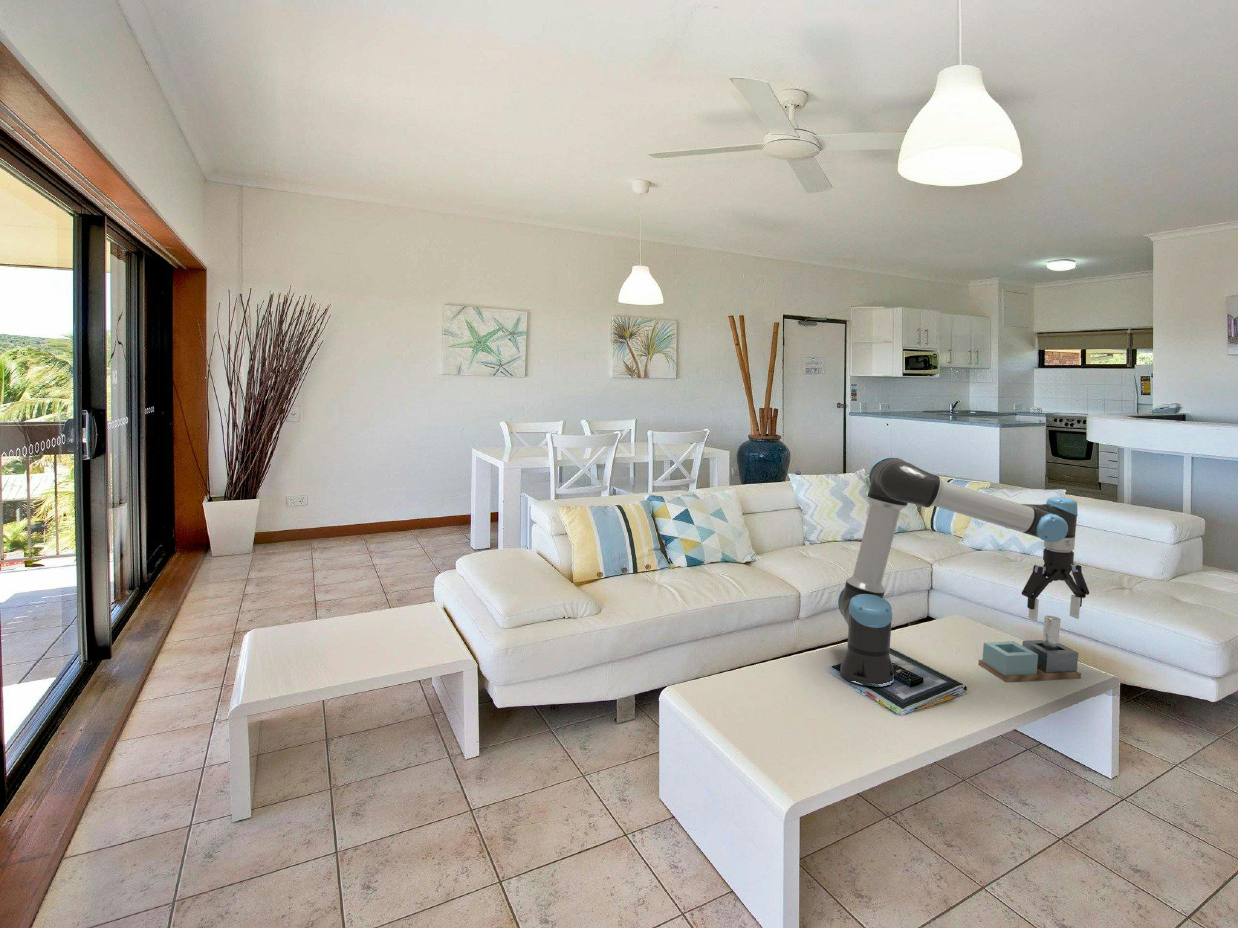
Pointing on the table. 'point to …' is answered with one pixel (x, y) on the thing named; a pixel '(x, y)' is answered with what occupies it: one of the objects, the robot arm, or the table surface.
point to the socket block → (1053, 657)
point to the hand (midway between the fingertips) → (1053, 618)
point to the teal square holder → (1010, 658)
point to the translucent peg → (1051, 633)
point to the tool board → (1030, 675)
